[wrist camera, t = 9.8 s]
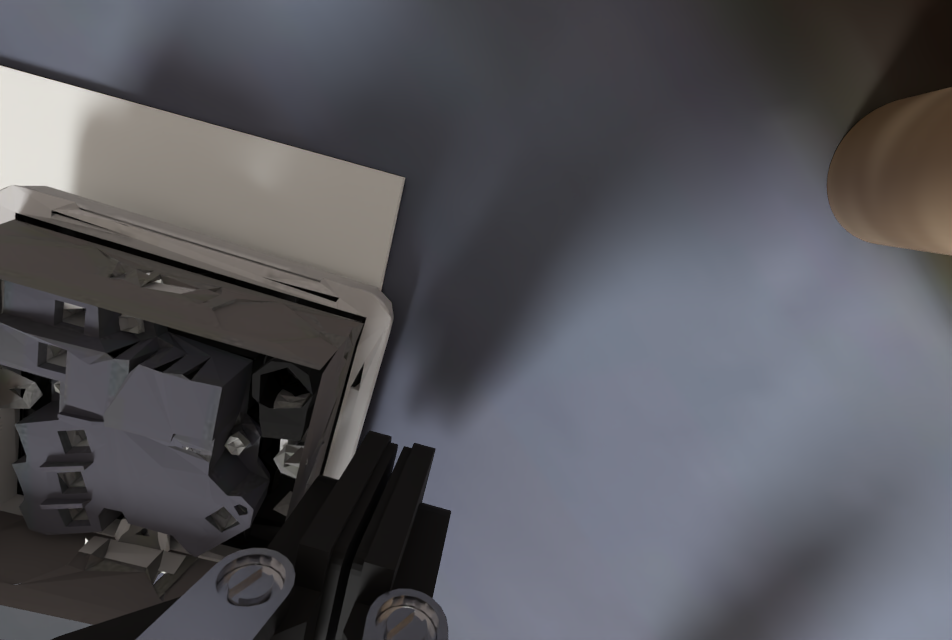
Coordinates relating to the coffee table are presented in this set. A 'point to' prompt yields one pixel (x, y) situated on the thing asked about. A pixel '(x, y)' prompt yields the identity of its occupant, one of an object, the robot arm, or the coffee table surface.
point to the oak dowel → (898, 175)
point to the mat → (198, 176)
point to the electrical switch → (161, 399)
